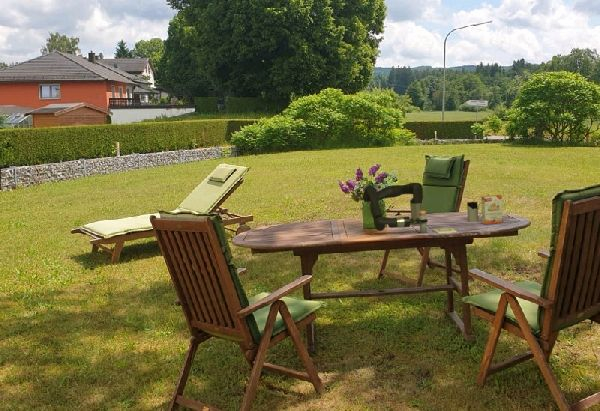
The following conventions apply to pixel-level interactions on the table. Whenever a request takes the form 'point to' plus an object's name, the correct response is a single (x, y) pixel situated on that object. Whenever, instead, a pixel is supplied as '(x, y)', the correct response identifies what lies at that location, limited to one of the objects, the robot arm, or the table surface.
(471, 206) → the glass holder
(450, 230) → the paper sheet
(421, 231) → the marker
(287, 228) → the table surface
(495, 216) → the cracker box
